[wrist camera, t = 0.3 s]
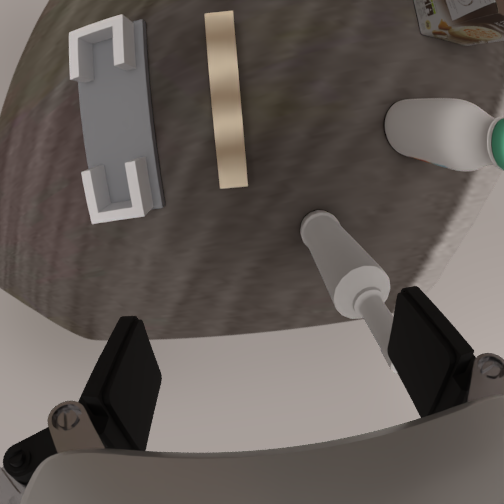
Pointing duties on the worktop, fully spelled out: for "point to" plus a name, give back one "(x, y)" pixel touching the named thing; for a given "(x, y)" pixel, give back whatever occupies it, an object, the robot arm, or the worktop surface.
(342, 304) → the bottle
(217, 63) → the slat
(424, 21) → the coffee box
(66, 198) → the worktop surface
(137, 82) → the grey holder stand
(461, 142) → the milk bottle
